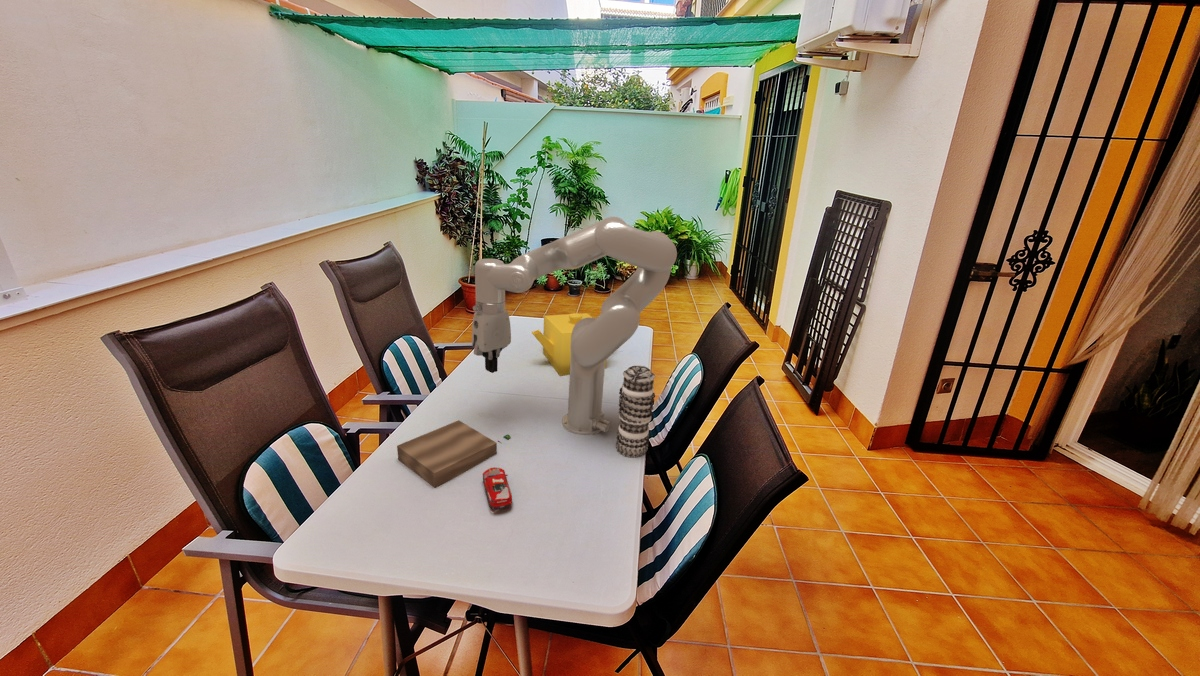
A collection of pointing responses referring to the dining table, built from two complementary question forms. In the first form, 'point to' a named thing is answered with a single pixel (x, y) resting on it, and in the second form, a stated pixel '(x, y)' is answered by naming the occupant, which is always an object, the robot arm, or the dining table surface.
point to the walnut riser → (446, 452)
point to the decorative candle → (635, 411)
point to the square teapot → (559, 340)
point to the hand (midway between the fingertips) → (491, 370)
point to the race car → (497, 488)
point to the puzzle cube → (506, 437)
